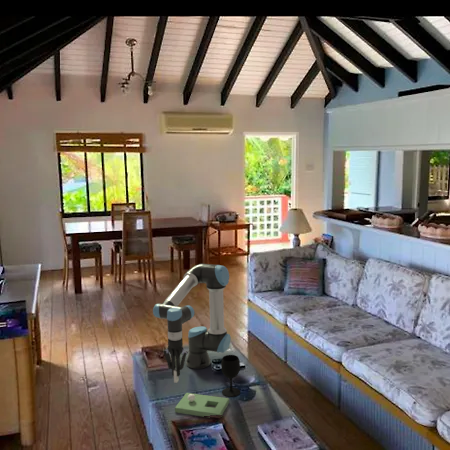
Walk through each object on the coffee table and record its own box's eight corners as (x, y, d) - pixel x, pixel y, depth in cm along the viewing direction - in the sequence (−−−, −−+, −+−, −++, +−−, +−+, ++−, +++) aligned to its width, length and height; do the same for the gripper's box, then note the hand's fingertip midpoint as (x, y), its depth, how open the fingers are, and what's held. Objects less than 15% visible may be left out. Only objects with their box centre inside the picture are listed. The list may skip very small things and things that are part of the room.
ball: (189, 399, 250) (189, 391, 250) (196, 400, 249) (196, 392, 248) (186, 402, 246) (186, 395, 246) (193, 403, 245) (193, 396, 245)
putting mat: (186, 397, 257) (186, 392, 257) (228, 402, 250) (228, 398, 250) (175, 412, 242) (174, 407, 242) (219, 418, 235) (219, 414, 235)
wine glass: (224, 398, 255) (223, 363, 252) (219, 389, 265) (218, 355, 262) (242, 395, 258) (242, 360, 255) (237, 386, 268) (236, 353, 265)
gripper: (160, 339, 244) (161, 383, 247) (184, 342, 240) (185, 386, 243) (166, 334, 251) (167, 376, 254) (189, 336, 247) (190, 379, 250)
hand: (176, 381), depth 248 cm, fingers closed
